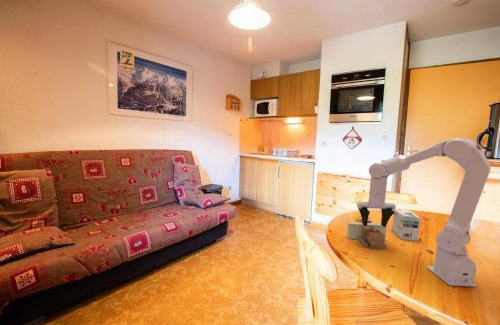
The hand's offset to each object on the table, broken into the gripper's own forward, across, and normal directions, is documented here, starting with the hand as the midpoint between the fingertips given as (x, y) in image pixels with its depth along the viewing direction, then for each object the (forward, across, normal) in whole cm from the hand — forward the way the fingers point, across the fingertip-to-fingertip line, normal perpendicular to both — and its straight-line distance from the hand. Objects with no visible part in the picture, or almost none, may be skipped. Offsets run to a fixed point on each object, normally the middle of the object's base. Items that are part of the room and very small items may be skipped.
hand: (374, 225), depth 92 cm
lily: (+8, -9, -24) cm, 27 cm away
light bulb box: (+8, -20, -10) cm, 24 cm away
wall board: (+8, 0, -2) cm, 8 cm away
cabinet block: (+8, 0, 0) cm, 8 cm away
